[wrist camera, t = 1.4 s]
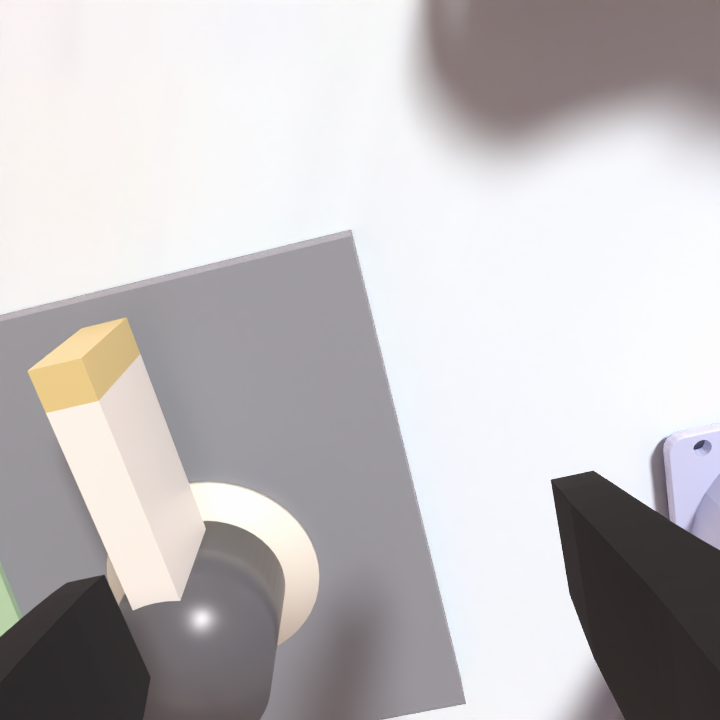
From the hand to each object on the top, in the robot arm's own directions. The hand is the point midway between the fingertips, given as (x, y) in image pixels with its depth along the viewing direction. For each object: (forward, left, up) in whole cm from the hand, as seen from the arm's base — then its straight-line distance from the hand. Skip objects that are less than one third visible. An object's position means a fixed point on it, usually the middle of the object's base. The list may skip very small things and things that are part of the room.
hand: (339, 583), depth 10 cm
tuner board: (+7, +5, -10) cm, 13 cm away
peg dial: (+5, +2, -8) cm, 10 cm away
